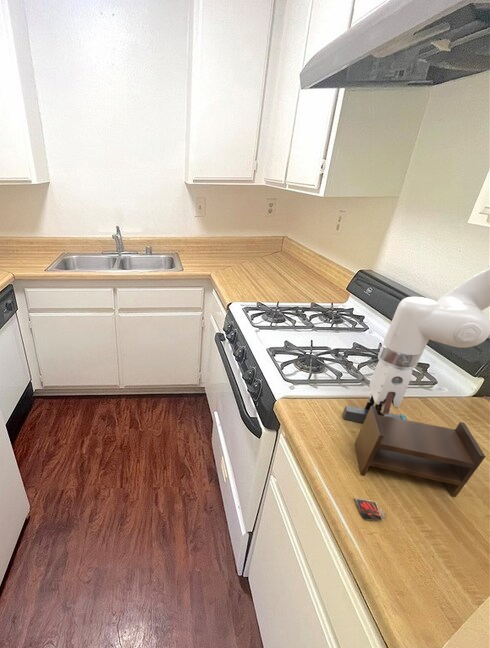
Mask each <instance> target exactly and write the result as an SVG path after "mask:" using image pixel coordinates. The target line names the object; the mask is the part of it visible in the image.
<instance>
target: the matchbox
mask: <svg viewBox="0 0 490 648" xmlns="http://www.w3.org/2000/svg"><path fill="white" fill-rule="evenodd" d="M353 500H355V502H356V505H357V507H358V508H357V510H358V511H359V513H360V514H361V516H362V518H363V519H364V520H369V521H374V522H378V521H379V522H381V521H383V519H385V518H387V513H386V512H385V511H384V510H383V509H382V507H381V506H380V507H379V506H378V502H377V501H376V500H370V499H365V498H359V497H354V498H353Z"/></svg>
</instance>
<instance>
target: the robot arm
mask: <svg viewBox="0 0 490 648" xmlns="http://www.w3.org/2000/svg"><path fill="white" fill-rule="evenodd" d="M489 307H490V267H489V268H487V269H485V270H482V271H480V272H478V273H476V274H475V275H473V276H471V277H470V278H468V279H466V280H464V281H463V282H461V283H459V285H457V286H455V287H454V288H452V289H451V290H450V291H448V292H447V293H445V294H444V295H443V296H441V297H440V298H439V299H437V301H436V300H434V299H432V298H428V297H422V296H407V297H405V298H402V299H401V301H400V302H399V303H398V305H397V308H396V310H395V312H394V315H393V317H392V320H391V322H390V325H389V327H388V330H387V332H386V334H385V337H384V339H383V343H382V344H381V346H380V348H379V349H380V350H379V351H378V355H377V359H378V362H377V364H376V366H375V367H374V370H373V373H372V375H371V378H370V380H369V389H370V394H369V396H368V401H367V402H366V405H365V407H364V409H370V407H371V406H375V408H376V411H377V414H378V415H382V416H384V415H385V414H389V413H390V411H391V407H392V406H393V408H394V409H398V408H399V407H400V406H401V404H402V402H403V400H404V397H405V394H406V392H407V389H408V387H409V385H410V382H411V378H412V375H413V369H416V367H417V365H418V363H419V361H420V359H421V357H422V355H423V353H424V351H425V348H426V346H427V344H428V342H429V341H430V340H431V341H433V342H437V343H440V344H444V345H446V346H450V347H455V348H472V347H476V346H478V345H481V344H482V343H483V342H485V341H486V340H487V339H488V338H489V336H490V318H489V316H487V314H486V313H484V312H483V311H484V310H486V309H487V308H489Z"/></svg>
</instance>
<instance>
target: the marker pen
mask: <svg viewBox="0 0 490 648" xmlns="http://www.w3.org/2000/svg"><path fill="white" fill-rule="evenodd" d="M368 412H369V409H365V408H363V407H358V406H352V405H345V406H344V408H343V412H342V417H343V418H342V419H343V420H345V421H350V422H354V423H355V422H356V423H361V424H363V423H364V421H365V418H366V416H367V414H368ZM384 416H387V417H392V418H398V419H403V420H408V419H407V416H406V415H405V414H396V413H395V414H394V413H391V412H389V414H385V415H384Z"/></svg>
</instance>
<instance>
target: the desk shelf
mask: <svg viewBox="0 0 490 648" xmlns="http://www.w3.org/2000/svg"><path fill="white" fill-rule="evenodd" d="M354 448H355V454H356V458H357V459H356V460H357V463H358V470H359V474H360V476H362V477H363V476H364V477H365V476H366V474H367V472H368V471H369V468H370V466H371V467H376V468H380V469H383V470H387V471H394V472H398V473H402V474H405V475H406V474H407V475H411V476H414V477H419V478H424V479H429V480H433V481H437V482H442V483H445V485H446V488H447V490H448V493H449V495H450V497H453V498H457V496H458V495H459V494H460V492H461V491H462V489H463V488H464V487H465V485H466V484H467V483H468V481H469V480H470V479H471V478H472V476H473V474H474V473H475V472H476V471H477V469H478V468H479V466H480V465H481V464H482V462H483V461H484V460H485V458H486V455H485V453H484V452H483V450H482V448H481V447H480V445H479V444H478V442H477V441H476V438H475V437H474V436H473V434H472V432H471V431H470V429H469V428H468V427H467V424H466V423H465V422H463V421H459V423H458V424H457V426H456V428H450V427H446V426H445V427H444V426H439V425H433V424H428V423H425V422H424V423H423V422H420V421H419V422H418V421H413V420H408V419H407V420H403V419H398V418H392V417H387V416H382V415H378V414H377V411H376V408H375V406H371V407H370V409H369V412H368V414H367V416H366V418H365V421H364V423H362V426H361V428H360V430H359V433H358V434H357V437H356V440H355V441H354Z"/></svg>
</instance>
